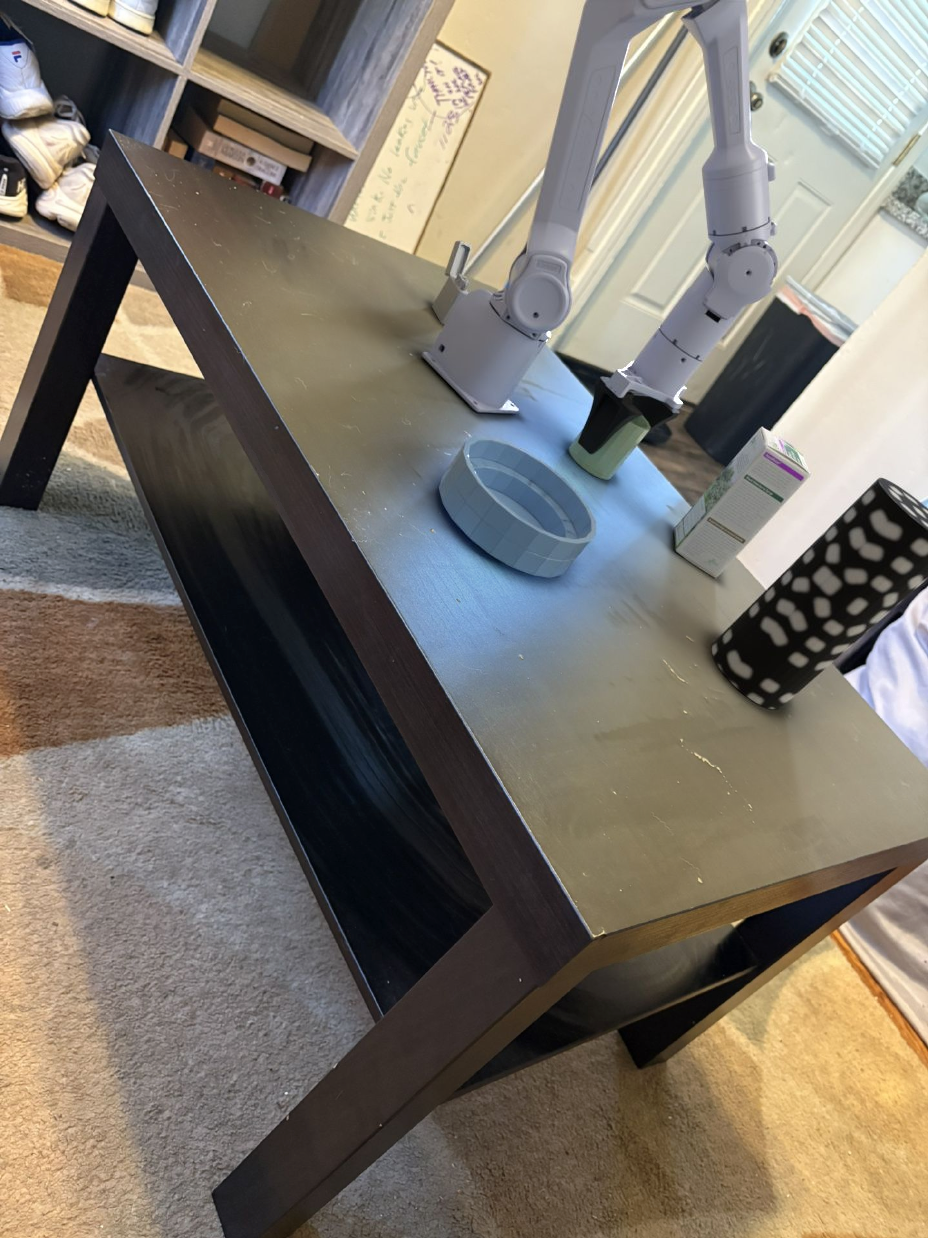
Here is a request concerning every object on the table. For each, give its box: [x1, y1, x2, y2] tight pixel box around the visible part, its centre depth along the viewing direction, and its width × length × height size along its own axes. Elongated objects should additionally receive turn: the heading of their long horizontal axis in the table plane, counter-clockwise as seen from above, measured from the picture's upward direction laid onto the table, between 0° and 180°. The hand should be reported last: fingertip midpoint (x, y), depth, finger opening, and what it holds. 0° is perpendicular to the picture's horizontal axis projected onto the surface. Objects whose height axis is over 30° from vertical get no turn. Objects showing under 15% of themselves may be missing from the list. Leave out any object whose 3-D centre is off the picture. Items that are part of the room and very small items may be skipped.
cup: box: [568, 415, 651, 481], centre depth 96 cm, size 6×6×7 cm
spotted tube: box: [711, 477, 928, 710], centre depth 75 cm, size 8×8×20 cm
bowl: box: [438, 436, 597, 579], centre depth 73 cm, size 13×13×4 cm
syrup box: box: [673, 426, 812, 579], centre depth 91 cm, size 6×6×14 cm
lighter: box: [431, 240, 473, 325], centre depth 105 cm, size 7×2×8 cm, turn 20°
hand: (601, 447), depth 96 cm, fingers open, 7 cm apart
